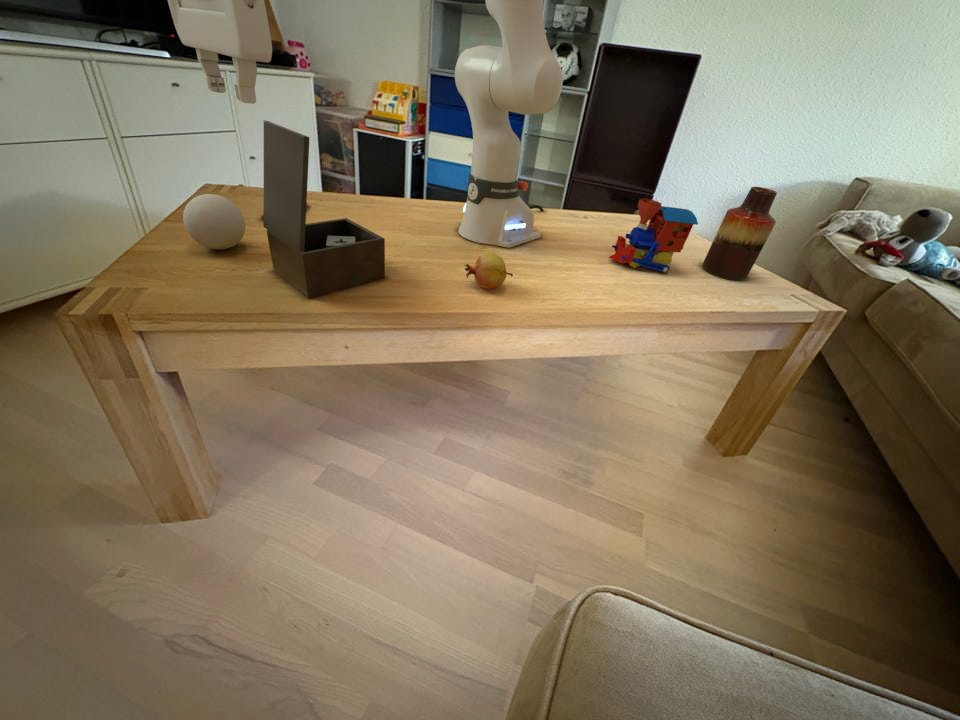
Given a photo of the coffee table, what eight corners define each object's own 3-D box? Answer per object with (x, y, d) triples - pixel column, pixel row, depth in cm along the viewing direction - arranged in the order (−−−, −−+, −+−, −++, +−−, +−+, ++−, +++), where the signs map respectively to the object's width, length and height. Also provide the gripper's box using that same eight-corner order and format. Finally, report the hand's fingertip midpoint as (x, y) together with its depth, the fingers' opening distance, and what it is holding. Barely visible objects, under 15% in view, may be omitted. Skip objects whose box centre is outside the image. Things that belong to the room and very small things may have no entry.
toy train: (676, 276, 100) (703, 213, 91) (613, 270, 98) (635, 205, 89) (659, 259, 108) (682, 200, 100) (601, 253, 106) (619, 193, 98)
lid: (268, 121, 64) (263, 120, 63) (309, 137, 58) (304, 136, 57) (268, 227, 72) (263, 227, 71) (304, 251, 65) (299, 251, 65)
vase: (692, 264, 109) (729, 182, 97) (722, 262, 112) (760, 184, 101) (725, 281, 101) (769, 195, 89) (755, 280, 105) (801, 196, 93)
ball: (196, 260, 76) (179, 204, 70) (187, 241, 82) (172, 188, 76) (255, 253, 81) (245, 201, 75) (243, 236, 87) (233, 186, 81)
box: (348, 255, 86) (346, 217, 81) (385, 278, 80) (384, 238, 75) (273, 271, 76) (266, 229, 72) (308, 298, 70) (302, 254, 65)
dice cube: (328, 271, 77) (326, 245, 74) (329, 260, 81) (327, 235, 78) (356, 271, 78) (355, 246, 75) (356, 261, 82) (355, 236, 79)
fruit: (512, 252, 83) (463, 248, 81) (521, 257, 77) (468, 253, 75) (507, 286, 86) (460, 283, 83) (516, 293, 79) (465, 290, 77)
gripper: (277, -42, 43) (293, 111, 51) (203, -38, 54) (226, 88, 61) (210, -61, 39) (239, 108, 47) (145, -53, 49) (177, 84, 57)
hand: (231, 97), depth 54 cm, fingers open, 8 cm apart
